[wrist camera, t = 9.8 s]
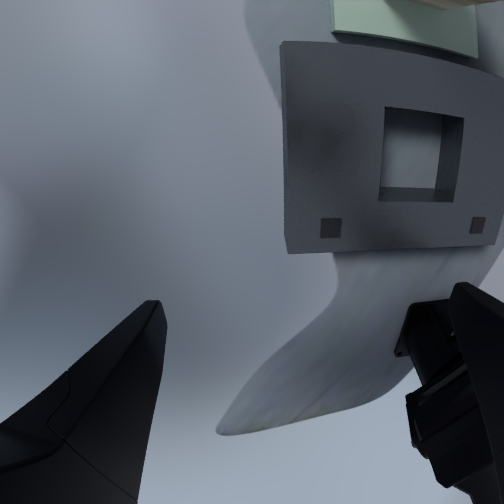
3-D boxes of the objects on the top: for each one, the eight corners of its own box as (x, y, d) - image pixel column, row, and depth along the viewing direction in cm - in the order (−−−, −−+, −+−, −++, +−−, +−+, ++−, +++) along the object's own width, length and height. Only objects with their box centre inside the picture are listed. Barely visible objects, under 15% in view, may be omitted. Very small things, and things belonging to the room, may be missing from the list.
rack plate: (478, 229, 21) (495, 245, 18) (284, 234, 21) (287, 255, 19) (498, 80, 15) (521, 85, 12) (279, 46, 15) (283, 40, 13)
